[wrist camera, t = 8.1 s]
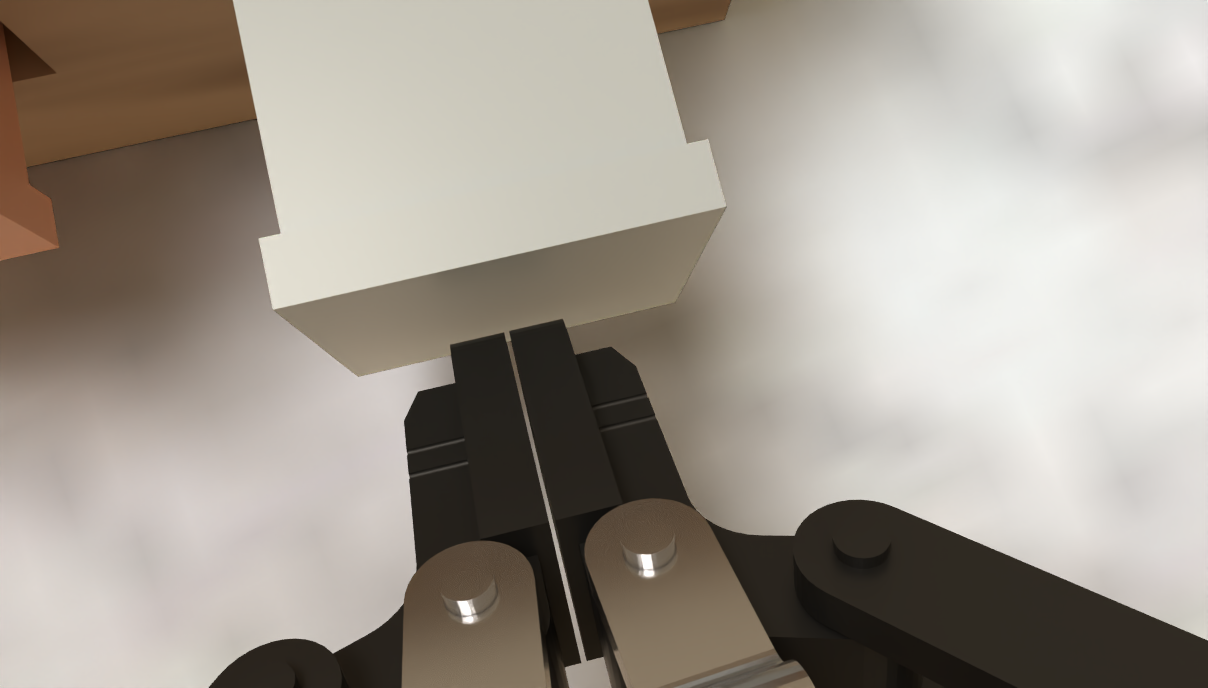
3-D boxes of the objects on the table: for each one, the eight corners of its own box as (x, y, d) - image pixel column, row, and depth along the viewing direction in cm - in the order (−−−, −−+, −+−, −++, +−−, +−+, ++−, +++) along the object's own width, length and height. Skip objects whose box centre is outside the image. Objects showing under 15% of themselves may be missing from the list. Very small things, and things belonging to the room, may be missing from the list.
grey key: (272, -28, 17) (159, -251, 12) (572, -88, 18) (579, -327, 13) (358, 376, 16) (272, 308, 11) (675, 302, 17) (726, 207, 12)
